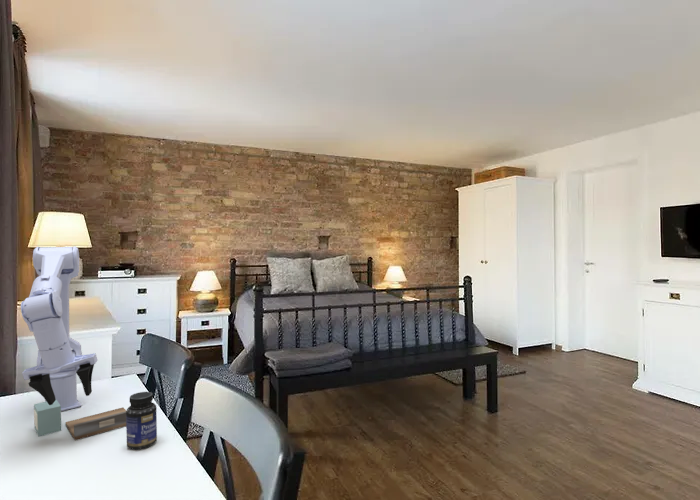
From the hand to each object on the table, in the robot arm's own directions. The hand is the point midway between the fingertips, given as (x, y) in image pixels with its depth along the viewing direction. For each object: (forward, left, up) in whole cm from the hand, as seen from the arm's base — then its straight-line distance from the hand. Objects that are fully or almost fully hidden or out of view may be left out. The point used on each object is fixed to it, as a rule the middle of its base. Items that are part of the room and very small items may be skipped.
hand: (70, 398), depth 99 cm
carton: (-8, -4, -9) cm, 12 cm away
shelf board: (-2, +6, -9) cm, 11 cm away
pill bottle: (+16, +10, -9) cm, 21 cm away
